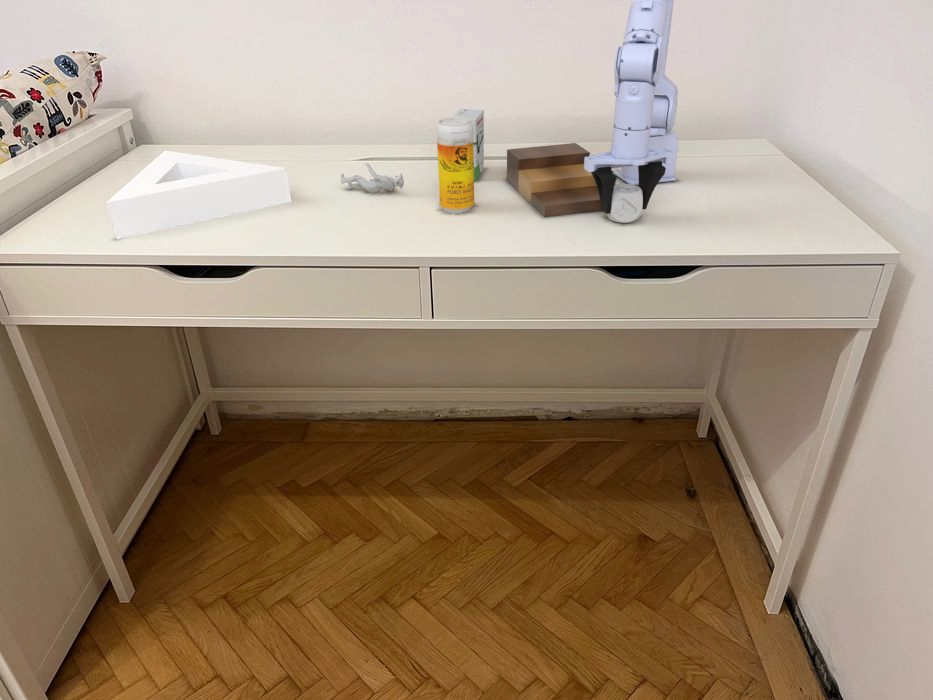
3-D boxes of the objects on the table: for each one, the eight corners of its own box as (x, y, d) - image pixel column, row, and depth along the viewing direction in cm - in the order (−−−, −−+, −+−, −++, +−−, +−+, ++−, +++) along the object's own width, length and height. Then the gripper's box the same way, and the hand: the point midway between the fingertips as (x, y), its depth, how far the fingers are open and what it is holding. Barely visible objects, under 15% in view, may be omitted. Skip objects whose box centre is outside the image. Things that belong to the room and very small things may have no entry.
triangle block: (117, 239, 113) (105, 202, 110) (91, 197, 132) (81, 164, 128) (291, 202, 127) (286, 168, 124) (246, 168, 146) (240, 138, 142)
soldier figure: (357, 188, 136) (412, 172, 131) (357, 210, 134) (412, 195, 130) (335, 168, 129) (391, 151, 125) (335, 192, 127) (392, 175, 123)
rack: (573, 173, 138) (575, 142, 135) (620, 208, 121) (623, 174, 118) (506, 180, 135) (506, 149, 132) (544, 217, 118) (545, 182, 115)
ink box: (476, 181, 135) (476, 118, 128) (452, 180, 136) (450, 118, 129) (484, 168, 142) (484, 108, 136) (461, 167, 143) (459, 107, 137)
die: (640, 222, 114) (644, 193, 111) (610, 223, 114) (613, 193, 111) (634, 211, 118) (638, 183, 115) (605, 212, 118) (607, 183, 116)
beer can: (449, 216, 119) (446, 127, 111) (434, 205, 124) (430, 119, 116) (480, 209, 121) (479, 122, 113) (464, 199, 126) (462, 114, 118)
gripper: (599, 136, 103) (592, 222, 110) (687, 128, 106) (675, 212, 113) (580, 125, 109) (575, 208, 116) (664, 117, 112) (654, 198, 119)
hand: (623, 209), depth 115 cm, fingers closed on die, 6 cm apart
